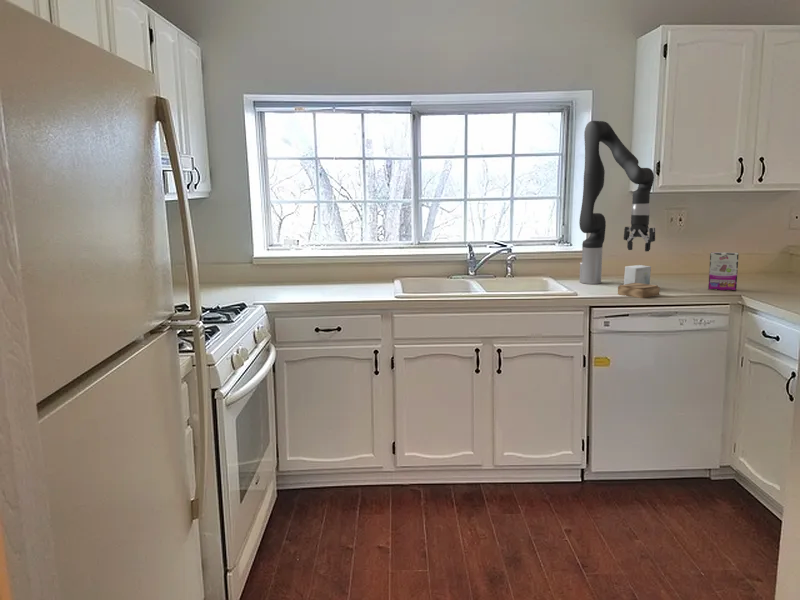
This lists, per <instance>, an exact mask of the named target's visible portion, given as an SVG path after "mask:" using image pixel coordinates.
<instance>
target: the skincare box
mask: <svg viewBox="0 0 800 600" xmlns="http://www.w3.org/2000/svg"><path fill="white" fill-rule="evenodd" d="M651 268H652V266H650V265H644V264H635V265H626V266H624V277H623V285H624V284H630V283H642V284H650V285H651V283H650V282H651V271H652V269H651Z"/></svg>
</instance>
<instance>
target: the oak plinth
mask: <svg viewBox="0 0 800 600" xmlns="http://www.w3.org/2000/svg"><path fill="white" fill-rule="evenodd" d="M660 287H661V286H659V285H656V284H651V283H650V284H642V283H630V284H624V283H623V284H620V285H619V286H618V287H617V295H618V294H619V296H625V295H626V296H625V297H630V298H631V297H632V298H638V299H639V298H640V299H644V298H650V297H655V296H660V289H661V288H660Z"/></svg>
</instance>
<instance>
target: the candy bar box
mask: <svg viewBox="0 0 800 600" xmlns="http://www.w3.org/2000/svg"><path fill="white" fill-rule="evenodd" d="M739 255H740V254H739V252H729V251H728V252H727V251H726V252H722V251H721V252H718V251H716V252H715V251H714V252H712V251H710V254H709V270H708V290H709V289H717V290H716V291H727V290H736V291H737V288H738V287H737V285H738V271H739V270H738V269H739V257H740V256H739Z"/></svg>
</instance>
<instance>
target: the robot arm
mask: <svg viewBox="0 0 800 600" xmlns="http://www.w3.org/2000/svg"><path fill="white" fill-rule="evenodd" d="M583 136H584V138H583V139H584V170H583V172H584V173H583V188H582V200H581V201H582V202H581V209H580V214H579V229H580V230H581V232H582V233H584V234H589V236H588V237H587V238H586V239H584V240H582V244H581V245H582V248H581V251H582V253H581V262H579V283H582V284H587V285H597V284H602V273H603V272H602V271H603V270H602V269H603V266H602V265H603V244H604V243H605V236H606V226H607V225H606V217H605V215H603V214H602V213H600V212H594V209H595V205H596V204H595V203H596V201H597V199H598V197H599V195H600V194H601V192H602V190H603V188H604V186H605V177H606V176H605V173H606V171H605V166H604V163H603V161H602V159H601V155H600V142H601V143H602V144H604V145H605V146H607V147H608V148H609V150H610V152H611V155H612V156H613V159H614V160H615V162H616V163H617V164H618V166H620V167H621V168H622V169H623V170H624V172H625V173H626V175H627V177H628V179H629V181H631V182H632V183H633V184H634V185H638V187H637V189H636V190H634V191H633V192H632V203H631V204H632V205H631V211H630V213H631V214H630V215H631V217H630V225H631V226H624V229H623V230H624V232H623V240H624V241H627V243H626V244H627V249H628V251H633V247H634V246H633V244H634V243H633V241H634V239H635V238H642V239H643V240H644V242H645V245H644V252H650V250H651V244H652V243H653V242H656V228H655V227H649V225H650V209H651V207H650V199H651V198H650V197H651V196H650V195H651V192H652V188H653V185H654V180H655V174H654V171H653V170H652V169H651V168H649V167H641V166H640V165H639V159H638V158H637V157H636V156H635V155H634V154H633V153H632V152H631V151H630V149H628V148H627V147H626V145H625V144H624V143H623V142H622V140H620V138H619V137H618V135H617V134H616V132H615V130H614V129H613V127H612V126H611V125H610V123H608V122H607V121H604V120H590V121H589V122H588V123H587V124H586V125H585V128H584V135H583Z"/></svg>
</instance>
